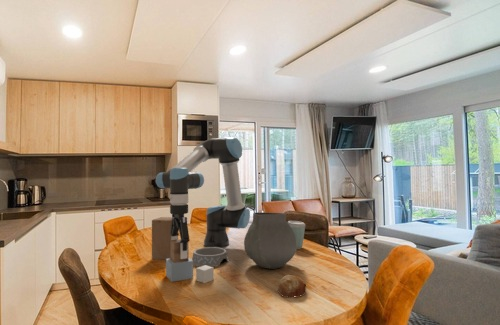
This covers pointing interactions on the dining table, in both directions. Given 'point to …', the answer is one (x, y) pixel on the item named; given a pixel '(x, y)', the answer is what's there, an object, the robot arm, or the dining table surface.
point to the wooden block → (161, 238)
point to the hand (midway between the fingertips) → (179, 254)
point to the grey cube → (204, 273)
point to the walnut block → (176, 251)
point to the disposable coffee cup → (298, 232)
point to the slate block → (179, 270)
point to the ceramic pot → (270, 240)
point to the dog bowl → (209, 256)
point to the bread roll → (291, 286)
